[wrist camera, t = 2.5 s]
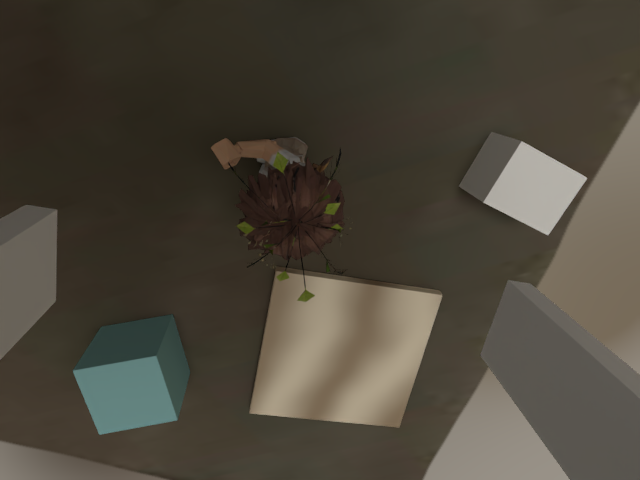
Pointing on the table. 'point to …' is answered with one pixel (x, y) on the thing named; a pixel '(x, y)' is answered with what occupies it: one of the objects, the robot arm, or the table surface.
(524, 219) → the white block
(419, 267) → the table surface
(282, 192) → the toy
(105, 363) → the teal block
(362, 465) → the table surface
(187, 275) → the table surface
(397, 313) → the board
